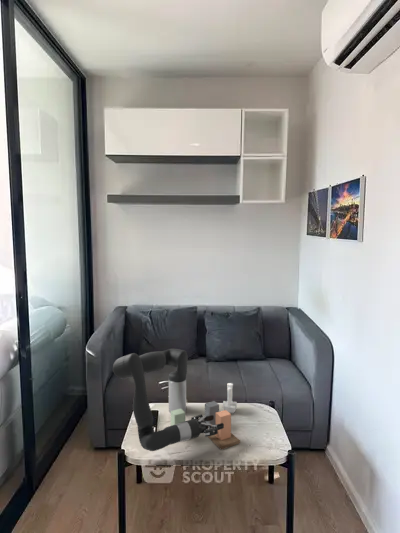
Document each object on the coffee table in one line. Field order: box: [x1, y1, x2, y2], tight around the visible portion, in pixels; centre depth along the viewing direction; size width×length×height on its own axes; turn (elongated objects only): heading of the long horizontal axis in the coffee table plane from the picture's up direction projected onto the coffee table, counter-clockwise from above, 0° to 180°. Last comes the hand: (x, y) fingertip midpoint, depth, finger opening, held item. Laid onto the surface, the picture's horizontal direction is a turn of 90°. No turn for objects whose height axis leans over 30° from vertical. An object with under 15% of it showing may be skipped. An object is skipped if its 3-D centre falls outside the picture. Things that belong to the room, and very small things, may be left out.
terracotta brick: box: [215, 409, 232, 440], centre depth 171 cm, size 4×6×11 cm
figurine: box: [222, 382, 238, 414], centre depth 198 cm, size 7×9×15 cm
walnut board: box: [207, 432, 241, 450], centre depth 171 cm, size 13×10×2 cm
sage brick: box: [170, 409, 186, 426], centre depth 175 cm, size 4×6×11 cm
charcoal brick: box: [204, 400, 220, 429], centre depth 183 cm, size 4×6×11 cm
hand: (218, 421), depth 169 cm, fingers open, 8 cm apart
